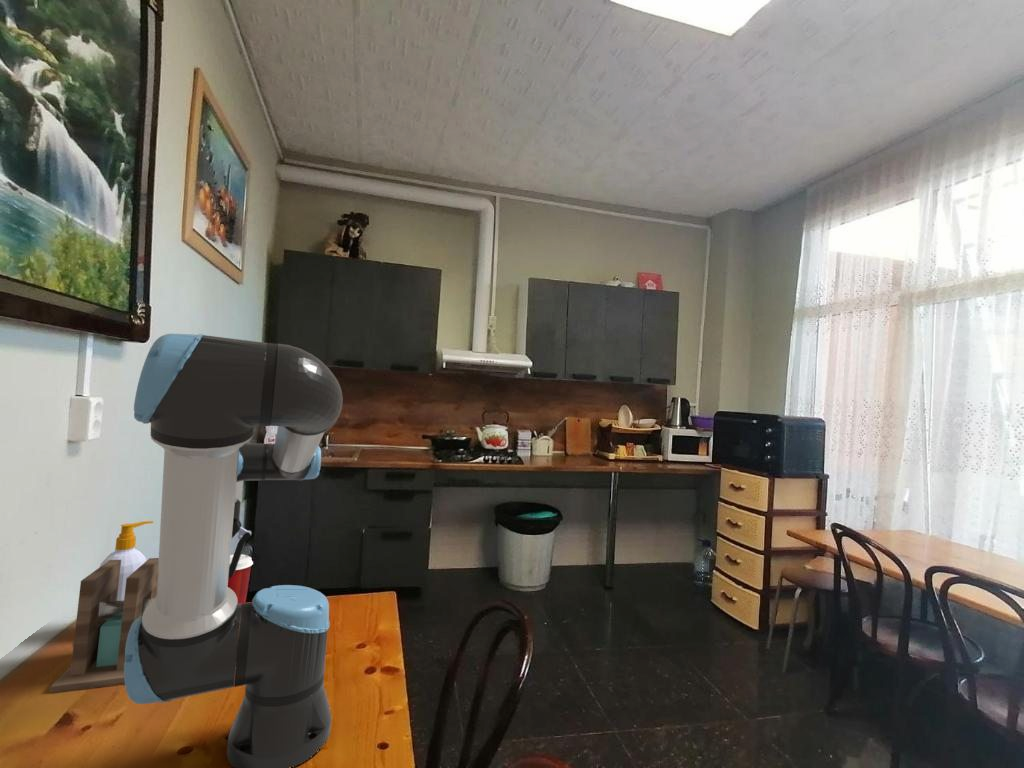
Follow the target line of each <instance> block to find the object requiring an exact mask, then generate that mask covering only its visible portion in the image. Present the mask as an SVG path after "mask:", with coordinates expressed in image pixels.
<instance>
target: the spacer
mask: <svg viewBox="0 0 1024 768" xmlns="http://www.w3.org/2000/svg"><path fill="white" fill-rule="evenodd" d="M121 625H122V617H110V618H109V619H108V620H107V621H106V622H105V623H104V624H103V625H102V626H101V627H100V636H99V645H98V655H97V664H96V667H100V666H109V665H117V662H118V653H119V644H120V634H121Z"/></svg>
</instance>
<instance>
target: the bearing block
mask: <svg viewBox="0 0 1024 768" xmlns="http://www.w3.org/2000/svg"><path fill="white" fill-rule="evenodd" d="M158 562H159V557H151V558H150V557H149V558H148V559H146V562H145V563H144V564H142V565H141V566H140V567H139V568H138V569H137V570H136V571H134V572H133V573H132V574H131V575H130V576H129V577H128V578H126V588H125V597H124V606H123V616H122V625H121V634H120V644H119V653H118V662H117V665H109V666H100V667H96V664H97V655H98V645H99V636H100V627H101V626H102V625H103V624H104V623H105V622H106V621H107V620H108V619H109V618H98V614H99V605H100V602H108V601H117V594H118V585H119V576H120V567H121V560H109V561H108V562H106V563H105V564H104V565H102V566H101V567H100V566H99V567H100V568H99V567H98V568H96V570H94V571H93V572H91V573H90V574H88V575H87V576H85V578H83V579H82V580H80V586H79V594H78V603H77V612H76V622H75V629H74V631H75V632H74V638H73V649H72V656H71V657H72V659H71V665H70V666H69V667H68V668H67V669H66V670H65V671H64V672H63V673H62V674H61V675H60V676H59V677H58V678H56V679H57V680H55V681H54V683H52V685H50V690H49V694H55V693H64V692H70V691H78V690H79V691H80V690H86V689H87V690H88V689H95V688H102V687H104V688H105V687H112V686H119V685H121V686H122V685H125V680H124V663H125V647H126V641H127V637H128V633H129V630H130V628H131V625H132V623H133V622H134V621H135V620H136V619H137V618H138V617H141V616H143V615H142V605H143V599H150V598H157V581H158Z"/></svg>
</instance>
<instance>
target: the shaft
mask: <svg viewBox="0 0 1024 768" xmlns="http://www.w3.org/2000/svg"><path fill="white" fill-rule="evenodd" d="M156 598H157V597H156ZM156 598H150V599H143V605H142V615H143V613H144V611H145V609H146V608H147V606H148V605H149V604H150V603H151V602H152V601H153V600H154V599H156ZM123 606H124V600H122V601H108V602H100V605H99V614H98V618H110V617H122V616H123Z"/></svg>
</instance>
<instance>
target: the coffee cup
mask: <svg viewBox="0 0 1024 768" xmlns="http://www.w3.org/2000/svg"><path fill="white" fill-rule="evenodd" d="M233 556H234V554H230V564H231V561H232V558H233ZM230 564H229V567H230ZM252 565H254V561H253V560H252V557H251V556H249V555H247V554H242V553H241V556H240V559H239V562H238V565H237V568H236V570H235V573H234V574H233V576H232V577H230V578H228V587H229V588H230V589H232V590H233V591H234V592H235V594H236V596H237V604H243V603H247V601H246V600H247V595H248V589H249V582H250V576H251V569H252ZM240 617H241V614H240Z"/></svg>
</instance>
